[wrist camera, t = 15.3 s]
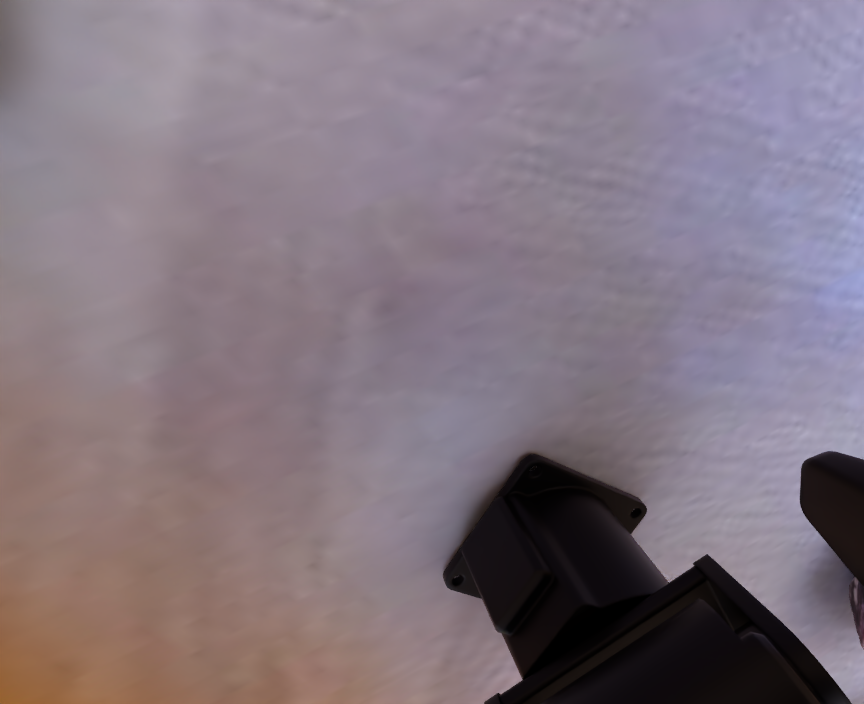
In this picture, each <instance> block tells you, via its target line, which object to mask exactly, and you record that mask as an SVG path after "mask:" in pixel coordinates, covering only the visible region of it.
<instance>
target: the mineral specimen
mask: <svg viewBox="0 0 864 704" xmlns="http://www.w3.org/2000/svg"><path fill="white" fill-rule="evenodd" d="M849 598H850V603H851V608H852V612H853V615H854V621H855V625H856V629H857V633H858V635H859V639H860V643H861V646H862V647H863V649H864V587H863V586H862V585H861V583H860V582H859V581H858V580H857V579H856V577H854V578H853V579H852V581H851V583H850V585H849Z"/></svg>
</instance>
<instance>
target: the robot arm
mask: <svg viewBox="0 0 864 704" xmlns="http://www.w3.org/2000/svg"><path fill="white" fill-rule="evenodd" d="M534 466H537V467H536V468H535V469H534V470H532V471H530V469H531V468H532V467H534ZM800 505H801V508H802V511H803V513H804V514H805V516H806V518H807V519H808V520H809V522H810V523H811V524H812V525H813V526H814V528H815V529H816V530H817V531H818V532H819V534H820V535H821V536H822V537H823V539H824V540H825V541H826V542H827V543H828V545H829V546H830V547H831V548H832V549H833V551H834V552H835V553H836V554H837V556H838V557H839V558H840V559H841V560H842V562H843V563H844V564H845V565H846V566H847V568H848V569H849V570H850V571H851V572H852V574H853V575H854V576H855V577H856V579H857V580H858V581H859V582H860V583H861V585H862V586H863V587H864V460H863V459H860V458H856V457H852V456H849V455H845V454H842V453H838V452H833V451H828V452H824V453H821V454H819V455H816V456H814V457H811V458H809V459H807V460H805V461H804V463H803V464H802V468H801V486H800ZM646 512H647V508H646V506H645V504H644V503H643V502H642V501H641V500H640V499H639V498H637V497H635V496H632V495H630V494H628V493H625V492H623V491H621V490H619V489H616V488H614V487H612V486H609V485H607V484H605V483H602V482H600V481H598V480H595V479H593V478H591V477H588V476H586V475H584V474H581V473H579V472H577V471H574V470H572V469H570V468H568V467H565V466H563V465H561V464H558V463H556V462H554V461H551V460H549V459H547V458H544V457H542V456H540V455H536V454H532V455H529V456H527V457H525V458H524V459H523V460H522V461H521V462H520V464H519V465H518V467H517V468H516V469H515V471H514V472H513V474H512V475H511V477H510V478H509V479H508V481H507V482H506V484H505V485H504V487H503V488H502V489H501V491H500V492H499V494H498V495H497V497H496V498H495V499H494V501H493V502H492V504H491V505H490V506H489V508H488V509H487V511H486V512H485V514H484V515H483V516H482V518H481V519H480V521H479V522H478V524H477V525H476V526H475V528H474V529H473V531H472V532H471V534H470V535H469V536H468V538H467V539H466V541H465V542H464V544H463V545H462V546H461V548H460V549H459V551H458V552H457V554H456V555H455V556H454V558H453V559H452V561H451V562H450V564H449V565H448V566H447V568H446V569H445V571H444V573H443V578H444V581H445V584H446V586H447V587H448V588H449V589H451V590H454V591H457V592H461V593H464V594H467V595H471V596H474V597H478V598H481V599H482V600H483V602H484V604H485V606H486V609H487V611H488V613H489V616H490V618H491V620H492V622H493V625H494V627H495V629H496V630H497V632H499V633H502V635H503V637H504V639H505V642H506V644H507V646H508V648H509V650H510V653H511V655H512V657H513V659H514V662H515V664H516V666H517V668H518V670H519V673H520V675H521V677H522V679H523V680H522V681H521V682H519V683H518V684H516V685H515V686H513V687H512V688H510V689H509V690H507V691H506V692H504V693H503V694H501V695H500V694H499V693H497V694H496V695H494V696H493V697H491V698H490V699H488V700H487V701H485V702H484V704H852V703H851V702H850V701H849V699H848V698H847V697H846V695H845V694H844V693H843V691H842V690H841V689H840V687H839V686H838V685H837V683H836V682H835V681H834V680H833V678H832V677H831V676H830V675H829V673H828V672H827V671H826V670H825V669H824V667H823V666H822V665H821V664H820V663H819V661H818V660H817V659H816V658H815V657H814V656H813V655H812V653H811V652H810V651H809V650H808V649H807V648H806V647H805V645H804V644H803V643H802V642H801V641H800V640H799V639H798V638H797V637H796V636H795V635H794V634H793V633H792V632H791V631H790V630H789V629H788V628H787V627H786V626H785V625H784V624H783V623H782V622H781V621H780V620H779V619H778V618H777V617H775V616H774V615H773V614H772V613H771V612H770V611H769V610H768V609H767V608H766V607H765V606H763V605H762V604H761V603H760V602H759V601H758V600H757V599H756V598H755V597H754V596H753V595H751V594H750V593H749V592H748V591H747V590H746V589H745V588H744V587H743V586H742V585H741V584H739V583H738V582H737V581H736V580H735V579H734V578H733V577H732V576H731V575H730V574H729V573H727V572H726V571H725V570H724V569H723V568H722V567H721V566H720V565H719V564H718V563H717V562H715V561H714V560H713V559H712V558H711V557H710V556H709V555H708V554H706V555H705V556H703V557H702V558H700V559H699V560H697V561H696V562H694V563H693V564H694V567H692V568H691V569H689V570H688V571H686V572H685V573H683V574H682V575H680V576H679V577H677V578H676V579H674V580H673V581H671V582H670V583H669V582H668V581H667V580H666V579H665V577H664V576H663V575H662V574H661V572H660V571H659V570H658V569H657V567H656V566H655V565H654V564H653V562H652V561H651V560H650V558H649V557H648V556H647V555H646V553H645V552H644V551H643V550H642V548H641V547H640V546H639V545H638V543H637V542H636V541H635V540H634V538H633V537H632V536H631V535H630V534H631V533H632V532H633V530H634V529H635V528H636V527H637V525H638V524H639V523H640V521H641V520H642V519H643V518H644V516H645V514H646ZM458 575H459V576H458ZM455 576H458V577H456V578H454V577H455Z"/></svg>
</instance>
